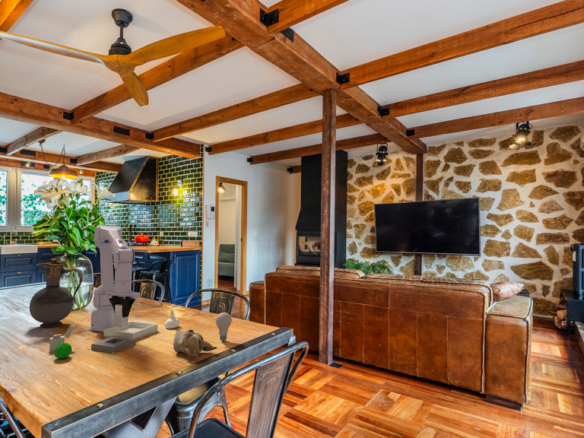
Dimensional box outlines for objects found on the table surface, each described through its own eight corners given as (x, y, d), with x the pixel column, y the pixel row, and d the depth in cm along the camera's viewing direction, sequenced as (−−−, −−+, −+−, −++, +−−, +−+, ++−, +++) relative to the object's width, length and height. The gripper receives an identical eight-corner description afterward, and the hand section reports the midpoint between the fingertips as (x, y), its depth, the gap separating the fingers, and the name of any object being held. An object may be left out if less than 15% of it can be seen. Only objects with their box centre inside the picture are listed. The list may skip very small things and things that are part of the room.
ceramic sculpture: (188, 321, 124) (219, 330, 117) (186, 345, 124) (217, 355, 117) (165, 329, 115) (197, 339, 108) (163, 354, 115) (195, 366, 108)
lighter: (49, 351, 116) (50, 328, 116) (49, 350, 117) (50, 327, 117) (74, 347, 120) (74, 325, 120) (73, 346, 122) (74, 324, 122)
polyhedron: (68, 354, 114) (69, 339, 114) (74, 357, 111) (74, 343, 111) (51, 358, 110) (52, 343, 110) (56, 362, 107) (56, 347, 107)
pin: (114, 326, 127) (115, 304, 127) (121, 323, 130) (121, 303, 130) (121, 327, 126) (122, 305, 126) (127, 324, 129) (128, 303, 129)
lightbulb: (234, 339, 132) (234, 311, 132) (226, 344, 126) (226, 315, 126) (220, 337, 134) (221, 310, 134) (212, 342, 128) (212, 313, 128)
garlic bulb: (174, 330, 144) (175, 311, 144) (161, 328, 145) (162, 310, 145) (182, 326, 150) (182, 308, 150) (169, 325, 151) (170, 307, 151)
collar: (91, 349, 119) (91, 343, 119) (113, 340, 128) (114, 335, 128) (113, 353, 116) (113, 347, 116) (135, 343, 125) (135, 338, 125)
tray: (103, 337, 132) (104, 329, 132) (130, 327, 145) (130, 320, 146) (132, 341, 128) (132, 333, 128) (157, 331, 141) (157, 323, 141)
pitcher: (27, 326, 145) (30, 256, 147) (79, 319, 158) (81, 255, 159) (29, 332, 137) (32, 258, 138) (83, 324, 150) (86, 256, 151)
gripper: (99, 280, 127) (98, 316, 126) (130, 283, 122) (129, 320, 122) (114, 278, 134) (113, 312, 133) (144, 280, 129) (143, 316, 129)
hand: (121, 316), depth 128 cm, fingers closed on pin, 3 cm apart
